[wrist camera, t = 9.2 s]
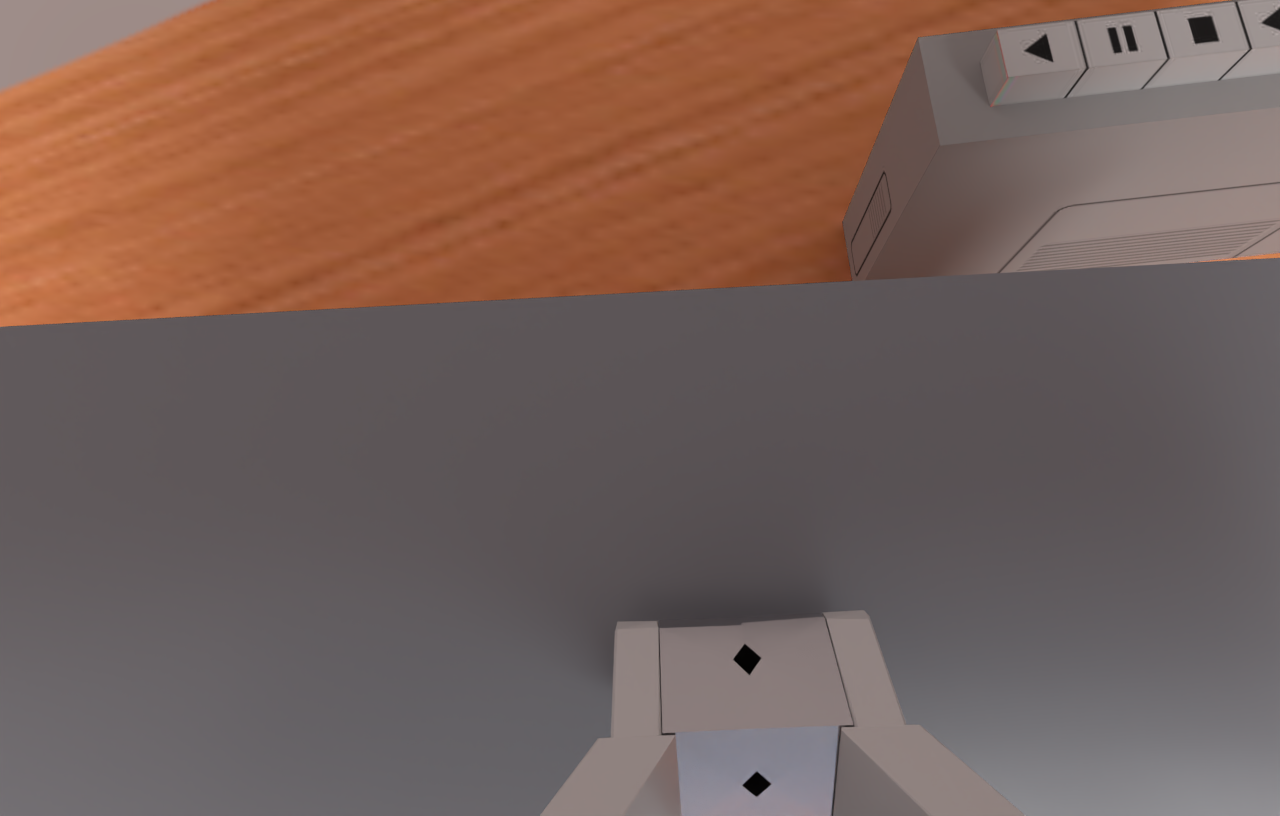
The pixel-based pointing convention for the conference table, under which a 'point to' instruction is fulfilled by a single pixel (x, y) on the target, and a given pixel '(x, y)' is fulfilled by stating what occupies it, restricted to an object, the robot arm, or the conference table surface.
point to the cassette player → (1078, 147)
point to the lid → (641, 534)
